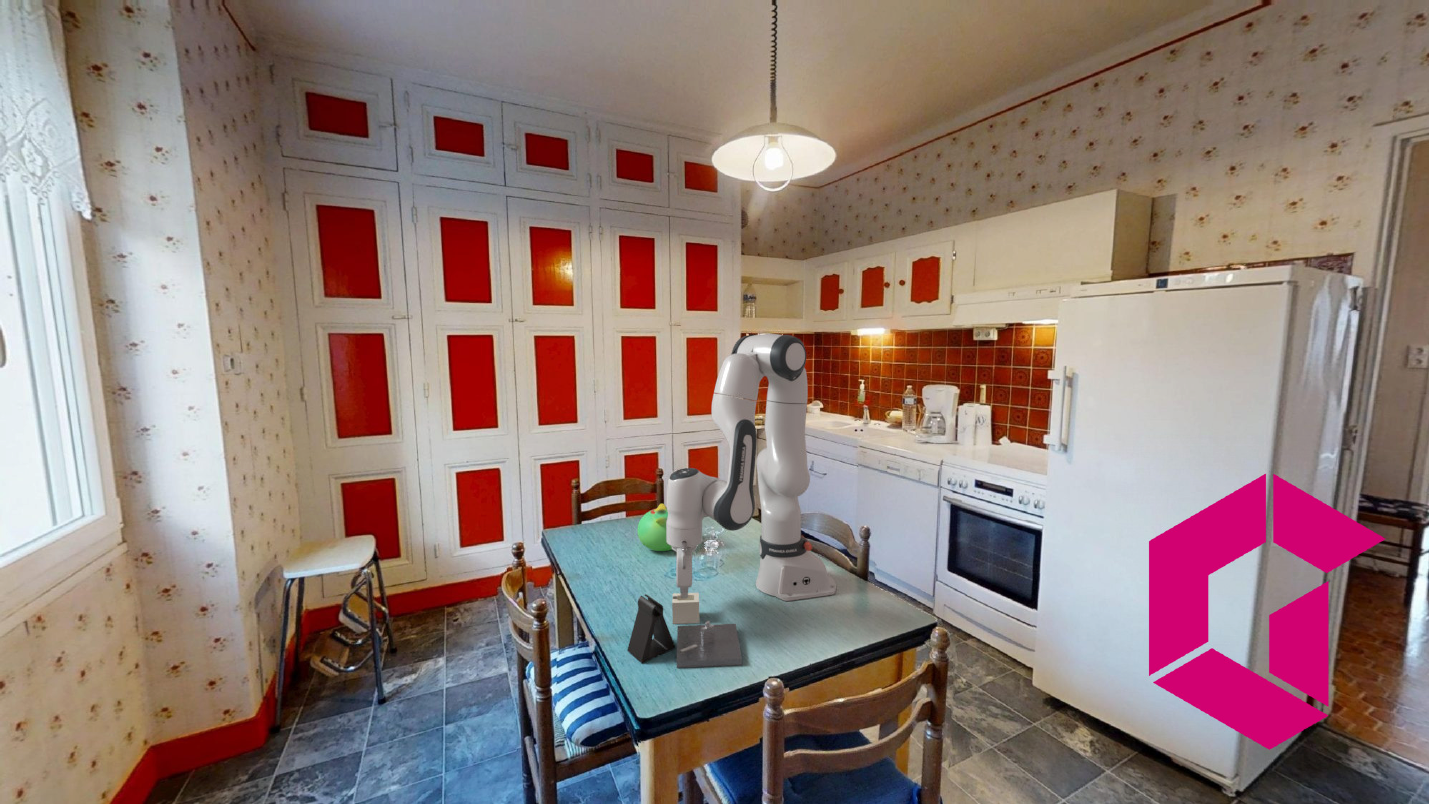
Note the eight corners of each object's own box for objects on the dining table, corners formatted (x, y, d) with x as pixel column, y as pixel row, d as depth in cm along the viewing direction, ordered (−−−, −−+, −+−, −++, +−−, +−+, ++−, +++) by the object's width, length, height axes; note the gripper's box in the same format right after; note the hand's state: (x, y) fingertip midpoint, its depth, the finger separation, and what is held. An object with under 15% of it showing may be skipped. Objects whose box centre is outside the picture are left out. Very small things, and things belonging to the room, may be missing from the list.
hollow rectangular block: (698, 612, 133) (698, 591, 132) (699, 622, 128) (699, 600, 128) (673, 613, 133) (672, 592, 132) (672, 623, 128) (672, 601, 127)
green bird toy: (675, 535, 187) (674, 496, 185) (701, 550, 173) (700, 507, 171) (630, 547, 176) (628, 505, 175) (654, 564, 163) (653, 518, 161)
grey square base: (735, 629, 125) (735, 605, 124) (741, 665, 111) (741, 638, 111) (677, 631, 124) (677, 607, 124) (676, 668, 111) (676, 640, 110)
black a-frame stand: (660, 636, 122) (659, 588, 121) (675, 648, 118) (674, 598, 116) (627, 651, 117) (625, 601, 115) (641, 664, 112) (639, 611, 111)
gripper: (698, 551, 118) (697, 608, 119) (696, 520, 138) (696, 570, 139) (670, 551, 117) (670, 609, 119) (672, 520, 138) (672, 570, 139)
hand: (684, 587), depth 129 cm, fingers open, 8 cm apart
